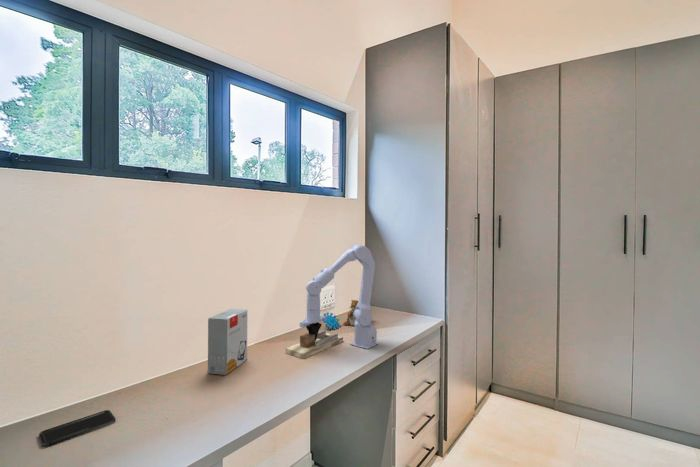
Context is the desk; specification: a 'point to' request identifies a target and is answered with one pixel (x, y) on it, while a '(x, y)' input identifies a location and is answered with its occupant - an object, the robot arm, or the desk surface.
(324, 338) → the channel board
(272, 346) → the desk surface
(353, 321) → the stuffed squirrel
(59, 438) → the phone
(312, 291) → the robot arm
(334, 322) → the gear
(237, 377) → the desk surface
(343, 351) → the desk surface
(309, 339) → the walnut cube
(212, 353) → the hard drive box
